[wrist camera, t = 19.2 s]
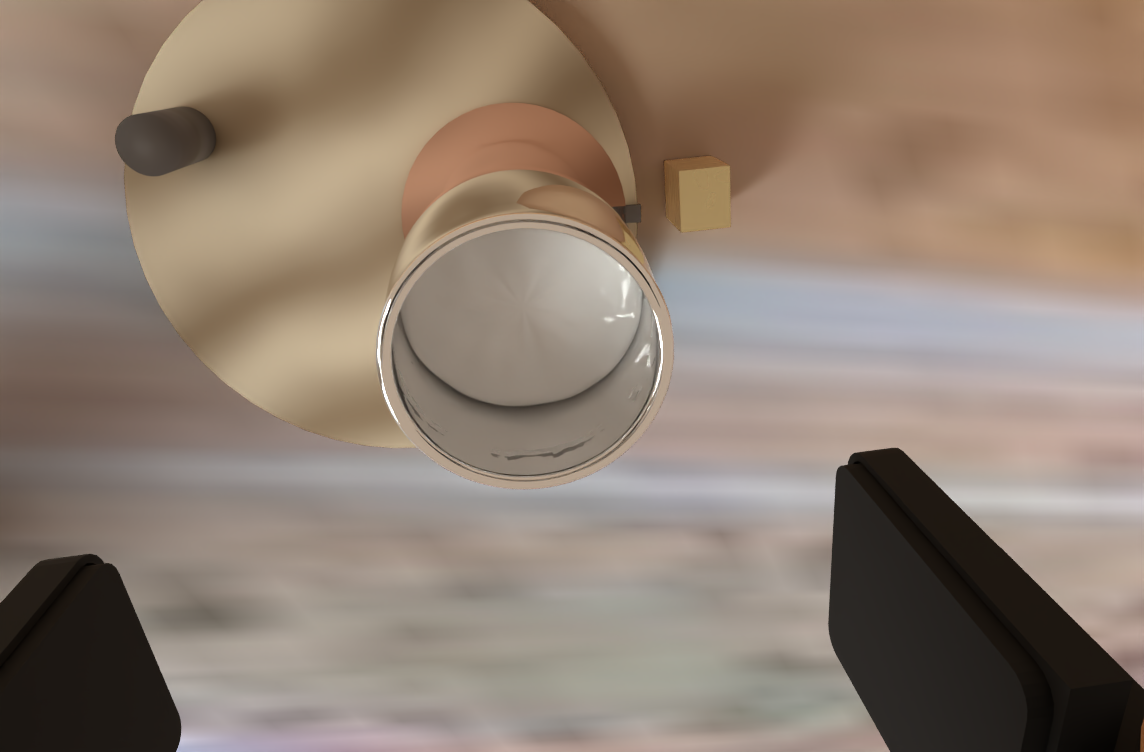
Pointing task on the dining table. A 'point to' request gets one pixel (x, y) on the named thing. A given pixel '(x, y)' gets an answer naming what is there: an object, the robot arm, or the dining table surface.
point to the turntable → (333, 175)
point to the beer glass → (522, 326)
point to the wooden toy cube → (697, 193)
